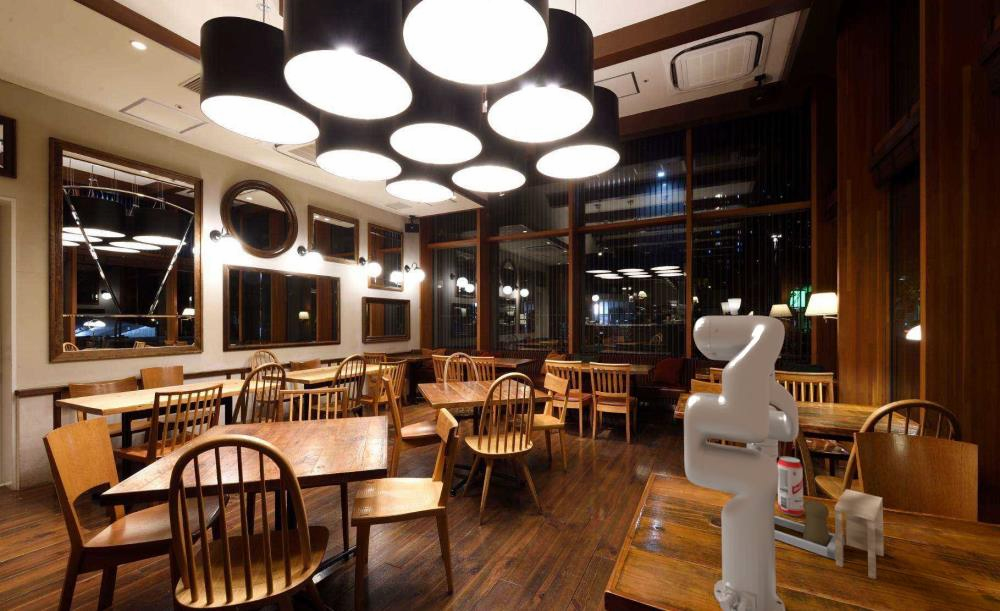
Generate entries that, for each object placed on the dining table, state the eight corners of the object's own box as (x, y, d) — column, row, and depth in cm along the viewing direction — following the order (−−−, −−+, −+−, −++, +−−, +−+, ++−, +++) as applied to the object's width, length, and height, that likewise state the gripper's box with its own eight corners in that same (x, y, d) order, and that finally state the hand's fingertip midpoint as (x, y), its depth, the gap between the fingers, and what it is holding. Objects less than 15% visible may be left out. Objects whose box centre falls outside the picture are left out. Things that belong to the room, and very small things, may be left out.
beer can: (773, 510, 126) (772, 457, 127) (786, 506, 129) (785, 454, 129) (795, 519, 120) (794, 464, 121) (808, 514, 123) (807, 460, 123)
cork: (837, 553, 103) (836, 508, 104) (811, 551, 104) (810, 507, 104) (821, 539, 109) (820, 498, 110) (797, 538, 110) (796, 497, 110)
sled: (844, 544, 107) (844, 520, 107) (836, 560, 100) (835, 535, 100) (754, 515, 122) (753, 494, 122) (741, 527, 115) (741, 505, 116)
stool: (883, 554, 103) (882, 497, 103) (875, 579, 93) (874, 516, 93) (847, 542, 108) (846, 488, 108) (836, 565, 98) (834, 505, 99)
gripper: (769, 458, 109) (770, 529, 108) (785, 446, 119) (786, 510, 118) (738, 451, 114) (739, 518, 114) (755, 440, 124) (756, 502, 124)
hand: (763, 514), depth 116 cm, fingers closed
